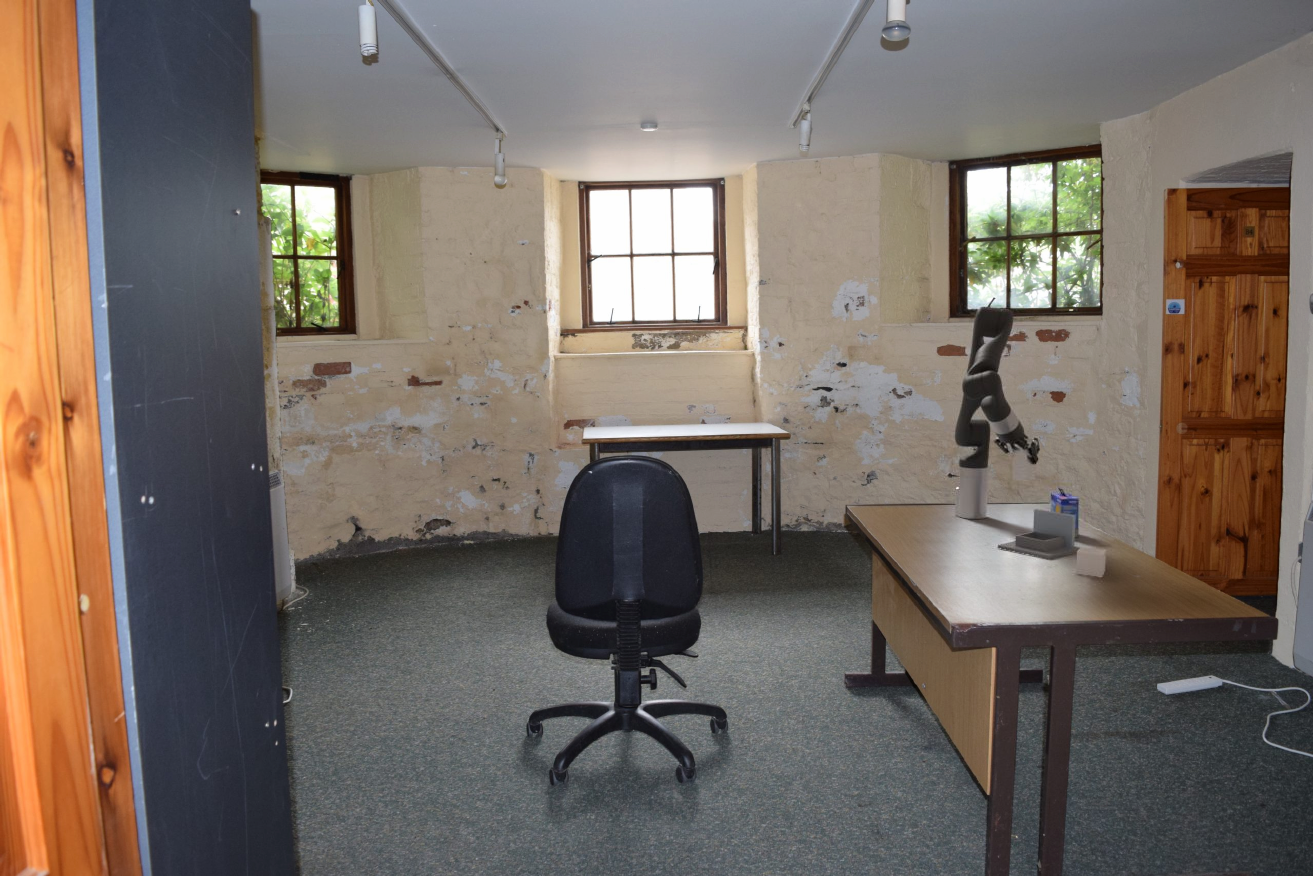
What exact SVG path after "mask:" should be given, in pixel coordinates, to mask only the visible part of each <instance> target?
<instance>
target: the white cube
mask: <svg viewBox="0 0 1313 876" xmlns="http://www.w3.org/2000/svg"><path fill="white" fill-rule="evenodd" d="M1079 547H1080V549H1079V550H1078V551H1077V552H1076V562H1075V564H1076V565H1075V566H1076V567H1075V568H1076V569H1075V570H1076V571H1075V575H1078V574H1083V575H1082V576H1086V575H1091V576H1090V577H1094V576H1099V577H1098V578H1101V577H1103V576H1104V574H1105V573H1104V572H1106V558H1107V557H1106V556H1107V550H1106V549H1099V548H1092V547H1081V546H1079ZM1102 575H1103V576H1102ZM1100 576H1101V577H1100Z"/></svg>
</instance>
